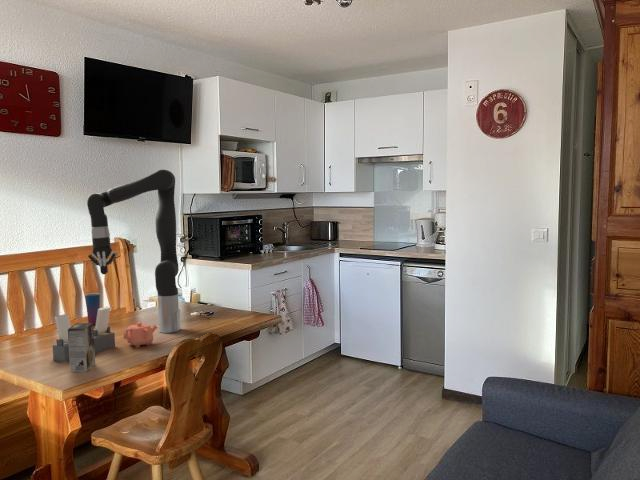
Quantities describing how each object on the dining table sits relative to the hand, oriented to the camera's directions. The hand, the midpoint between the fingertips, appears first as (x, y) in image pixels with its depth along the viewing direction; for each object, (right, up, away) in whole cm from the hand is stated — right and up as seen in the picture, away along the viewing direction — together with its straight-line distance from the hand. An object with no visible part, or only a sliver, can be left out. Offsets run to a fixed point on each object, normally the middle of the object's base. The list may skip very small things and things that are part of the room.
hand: (104, 274), depth 248 cm
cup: (-14, -27, +22) cm, 37 cm away
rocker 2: (+7, -23, -22) cm, 32 cm away
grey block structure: (+3, -30, -28) cm, 42 cm away
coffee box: (+11, -32, -48) cm, 59 cm away
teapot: (+23, -29, -18) cm, 41 cm away
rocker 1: (-1, -24, -36) cm, 43 cm away
